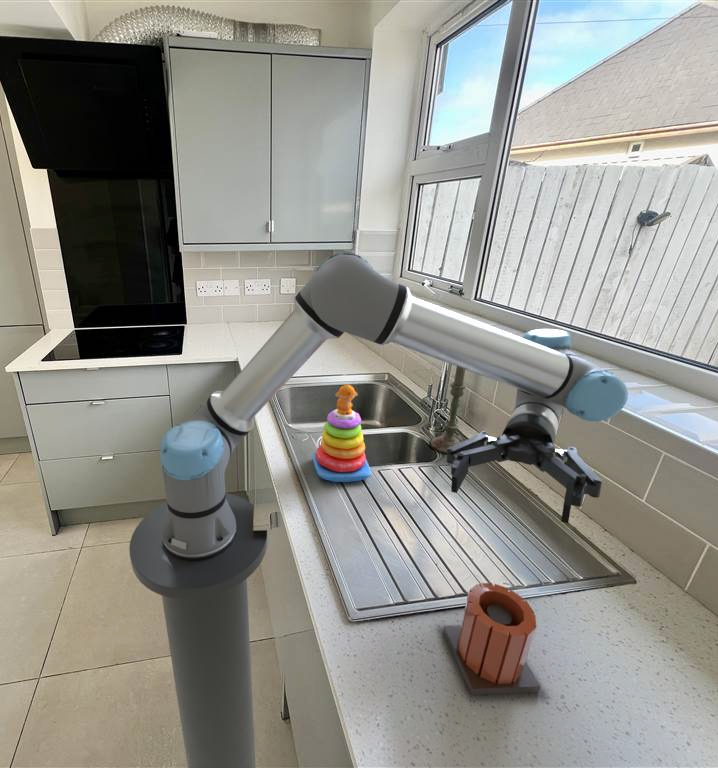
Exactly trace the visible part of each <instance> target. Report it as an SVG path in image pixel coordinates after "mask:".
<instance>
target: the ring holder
mask: <svg viewBox="0 0 718 768" xmlns="http://www.w3.org/2000/svg"><path fill="white" fill-rule="evenodd" d="M486 615H487V616H489V617H490V618H491V619H492V620H494V621H495V622H498V623H500V624H503V625H506V626H511V622H512V616H511V614H510V613H509V612H508V611H507V610H506V609H505V608H503V607H501V606H499V605H490V606H489V607H488V608H487V611H486ZM460 629H461V625H444V626H443V629H442V632H443V635H444V637H445V639H446V642H447V644H448V646H449V647H450V648H449V649H450V650H451V653H452V655H453V658H454V659H455V662H456V665H457V666H458V668H459V670H460V673H461V675H462V677H463V679H464V682H465V685H466V687H467V688H468V690H469V693H470V695H471V696H478V695H479V696H481V695H507V694H508V695H509V694H532V693H533V694H534V693H539V692H540V689H541V685H540V683H539V682H538V680H537V678H536V677H535V675H534V674H533V672H532V670H531V668H530V666H529V665H528V663H527V662H526V661H525V664H524V667H523V670H522V673H521V676H520V677H519V678H518V679H517V680H516V681H515V682H514V683H513V682H511V683H508V684H498V683H497V681H496V682H495V683H493V682H491V681H489V680H487V679H484V678H482V677H480V673H479V674H478V675H477V674H476V673H475V672H474V671H473V670H472V669H471V668H470V667H469V666H468V665H467V664H466V661H464V660H463V658H462V656H461V654H460V652H459V650H458V648H459V647H458V639H459V633H460Z"/></svg>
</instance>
